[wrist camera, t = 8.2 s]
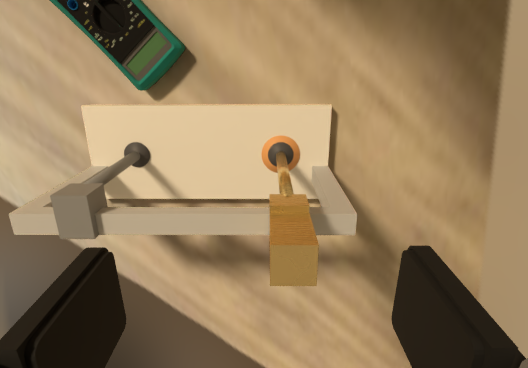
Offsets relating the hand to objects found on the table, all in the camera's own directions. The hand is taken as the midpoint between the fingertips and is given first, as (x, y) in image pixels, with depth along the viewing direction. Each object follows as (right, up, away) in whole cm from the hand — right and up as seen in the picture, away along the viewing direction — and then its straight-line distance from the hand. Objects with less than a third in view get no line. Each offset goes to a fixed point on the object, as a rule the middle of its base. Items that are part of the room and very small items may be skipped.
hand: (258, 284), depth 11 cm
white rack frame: (-7, +7, +32) cm, 34 cm away
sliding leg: (+2, +5, +31) cm, 31 cm away
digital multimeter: (-16, +22, +28) cm, 39 cm away
